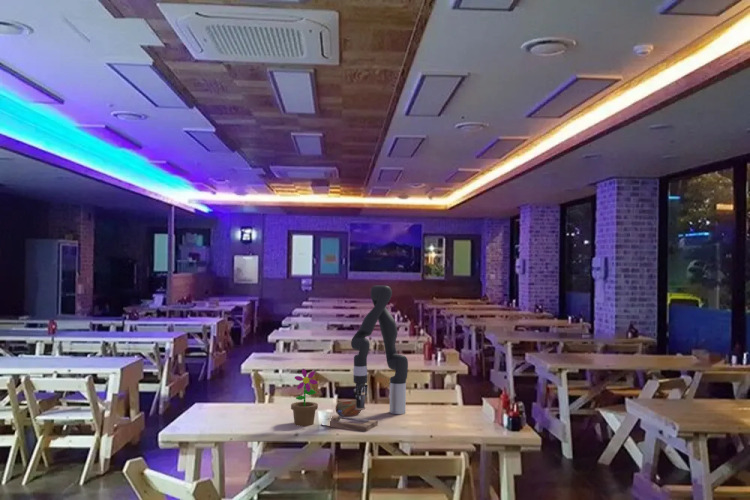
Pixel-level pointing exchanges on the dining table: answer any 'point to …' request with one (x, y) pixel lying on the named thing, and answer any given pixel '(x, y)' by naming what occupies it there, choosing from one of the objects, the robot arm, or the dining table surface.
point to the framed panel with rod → (352, 426)
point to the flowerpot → (304, 410)
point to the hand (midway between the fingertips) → (360, 405)
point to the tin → (347, 408)
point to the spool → (362, 402)
